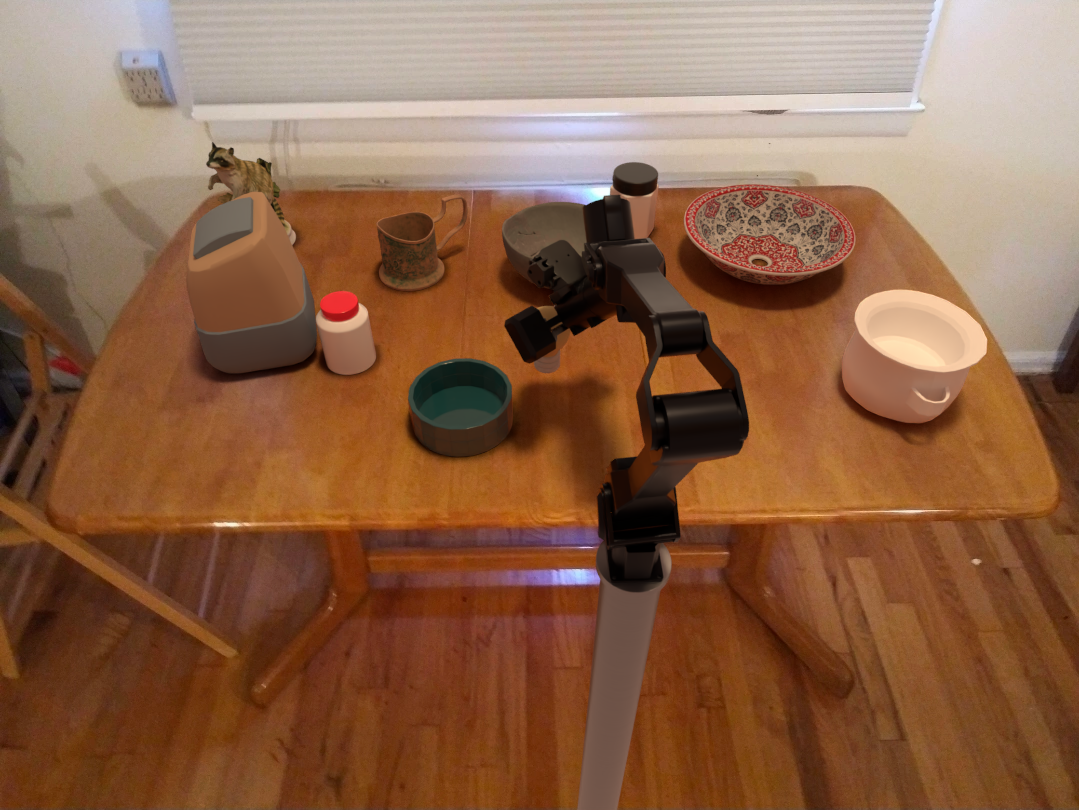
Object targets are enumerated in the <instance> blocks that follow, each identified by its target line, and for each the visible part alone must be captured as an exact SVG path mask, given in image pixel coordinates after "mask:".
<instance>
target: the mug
mask: <svg viewBox="0 0 1079 810" xmlns="http://www.w3.org/2000/svg"><path fill="white" fill-rule="evenodd" d="M440 200H441V201H440V202H441V208H440V211H439V213H438V214H437V215H436V216H435V217H432V216H431V215H430V214H427V213H425V212H422V211H408V212H404V213H403V212H402V213H399V214H395V215H390V216H386V217H383V218H380V219H379V220H377V222H376V223H375V225H376V230H377V239H378V242H379V249H380V256H381V261H382V264H381V265H380V266H379V269H378V276H379V279H380V281H381V282H382V284H383V285H385V286H386V287H388V288H389V289H393V290H396V291H402V292H415V291H420V290H421V291H422V290H425V289H428V288H430V287H432V286H434V285H436V284H437V283H438V282H440V281H441V279H443V277H444V275H445V265H444V262H443V260H441V259H440V258H439V257H438V252H439V251H441V250H442V249H443V248H444V247H445V246H446V244H447V243H448V242H449V240H450V239H451V238H452V237H453V236H455V234H457V233H458V232H459V231H461V230H462V229H463V227H464V226H465V224H466V223H467V219H468V213H469V212H468V202H467V200H466V199H465V197H463V196H462V195H460V194H451V195H447V196H444V197H442V198H441V199H440ZM454 200H461V202H462V215H461V220H460V221H459V223H458V224H457V225H456V226H455V227H454V228H452V229H451V230H450V231H448V232H447V233H446V235H445V236H444V237H443V238H442V240H441V241H440V242H439V243H438V244H437V238H436V237H437V236H436V229H435V226H436V225H435V223H437V222H440V221H441V220H442V219H443V217H444V216H445V215H446V209H447V202H451V201H454Z"/></svg>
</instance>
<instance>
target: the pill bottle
mask: <svg viewBox="0 0 1079 810" xmlns="http://www.w3.org/2000/svg"><path fill="white" fill-rule="evenodd" d="M319 307H320V309H319V311H318V312H317V313H316V315H315V317H316V329H317V333H318V335H319V340H320V343H321V346H322V352H323V356H324V359H325V364H326V366H327V368H328V369H329V370H330V371H331V372H333V373H335V374H338V375H344V376H350V375H356V374H360V373H363V372H365V371H367V370H368V369H369V368H371V367H372V366H373V365H374V364H375V362H376V360H377V351H376V346H375V341H374V335H373V331H372V326H371V320H370V314H369V310H368V309H367V307H366V306H365V304H364V305H363V304H362V303H360V302H359V298H358V296H357V295H356V294H354V292H351V291H348V290H338V291H333V292H329V293H328V294H326V295H325V296H323V297H322V298H321V300H320V302H319Z"/></svg>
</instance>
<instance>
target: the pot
mask: <svg viewBox="0 0 1079 810" xmlns="http://www.w3.org/2000/svg"><path fill="white" fill-rule="evenodd" d="M853 316H854V318H853V319H854V320H853V324H854V326H855V329H854V330H853V333H852V335H851V337H850V338H849V341H848V343H847V345H846V346H845V348H844V352H843V355H842V358H841V377H842V378H841V379H842V382H843V387H844V390H845V391H846V393H847V394H848V395H849V396H850V397H851V398H852V399H853V400H854V402H856V403H857V404H858V405H860V406H861V407H862V408H863V409H864V410H867V411H868V412H871V413H872V414H875V415H877V416H879V417H883V418H887V419H890V420H893V421H897V422H901V423H906V424H923V423H927V422H930V421H933V420H934V419H935V418H937V417H938V416H940V415H942V413H943V412H945V411H946V410H947V409H948V408H949V407H950V406H951V404H952V403H953V402H954V401H955V400H956V399H957V397H958V396H959V394H960V393H961V391H962V389H963V387H964V385H965V382H966V380H967V378H968V375H969V372H970V369H971V367H973V366H976V365H978V363H980V362H981V360H982V359H983V358H984V357H985V356H986V355H987V351H988V349H987V348H988V338H987V336H986V334H985V332H984V330H983V328H982V325H981V324H980V323H979V322H978V321H976V319H974V318H973V317H972V316H971V315H970V314H969V313H968V312H967V311H966V310H964V309H962V308H961V307H959V306H957V305H956V304H954V303H953V302H950V301H949V300H947V299H945V298H942V297H940V296H937V295H934V294H931V293H928V292H923V291H918V290H911V289H889V290H884V291H879V292H875V293H873V294H870V295H869V296H866V297H865V298H864V299H863V300H861V301H860V302H859V304H858V305H857V308H856V310H855V312H854V315H853Z"/></svg>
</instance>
